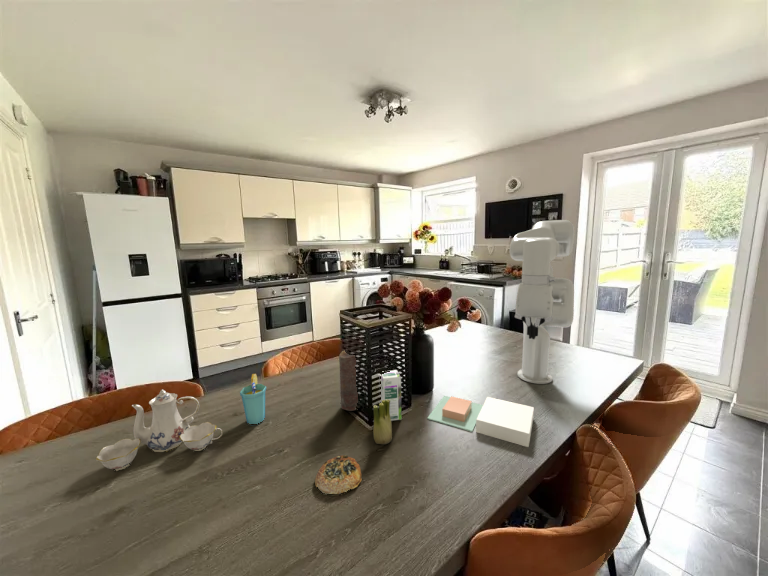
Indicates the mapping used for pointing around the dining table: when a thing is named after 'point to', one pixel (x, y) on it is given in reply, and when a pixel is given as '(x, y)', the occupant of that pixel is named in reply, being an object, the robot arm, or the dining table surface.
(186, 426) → the chinaware
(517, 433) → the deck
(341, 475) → the bread roll
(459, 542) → the dining table surface
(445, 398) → the mat
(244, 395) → the cup
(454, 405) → the tile
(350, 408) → the candle
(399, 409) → the syrup box
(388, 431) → the fennel bulb
